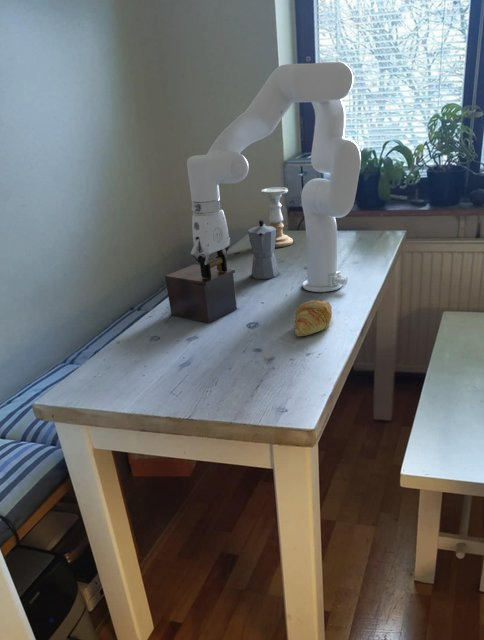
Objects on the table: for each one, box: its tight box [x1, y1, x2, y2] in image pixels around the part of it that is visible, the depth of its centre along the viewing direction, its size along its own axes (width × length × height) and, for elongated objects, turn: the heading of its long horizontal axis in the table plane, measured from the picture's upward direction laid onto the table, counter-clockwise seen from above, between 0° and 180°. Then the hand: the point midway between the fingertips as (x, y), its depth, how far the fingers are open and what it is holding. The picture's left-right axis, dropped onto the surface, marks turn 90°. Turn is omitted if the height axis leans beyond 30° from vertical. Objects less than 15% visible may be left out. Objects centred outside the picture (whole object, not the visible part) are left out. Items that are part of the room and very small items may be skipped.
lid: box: [164, 257, 236, 285], centre depth 172 cm, size 16×13×5 cm
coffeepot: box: [247, 219, 279, 280], centre depth 203 cm, size 15×9×18 cm, turn 176°
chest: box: [165, 273, 238, 324], centre depth 177 cm, size 15×13×11 cm
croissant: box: [294, 299, 333, 337], centre depth 163 cm, size 21×10×8 cm, turn 156°
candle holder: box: [260, 186, 294, 248], centre depth 236 cm, size 12×12×20 cm
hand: (214, 273), depth 170 cm, fingers closed on lid, 6 cm apart
